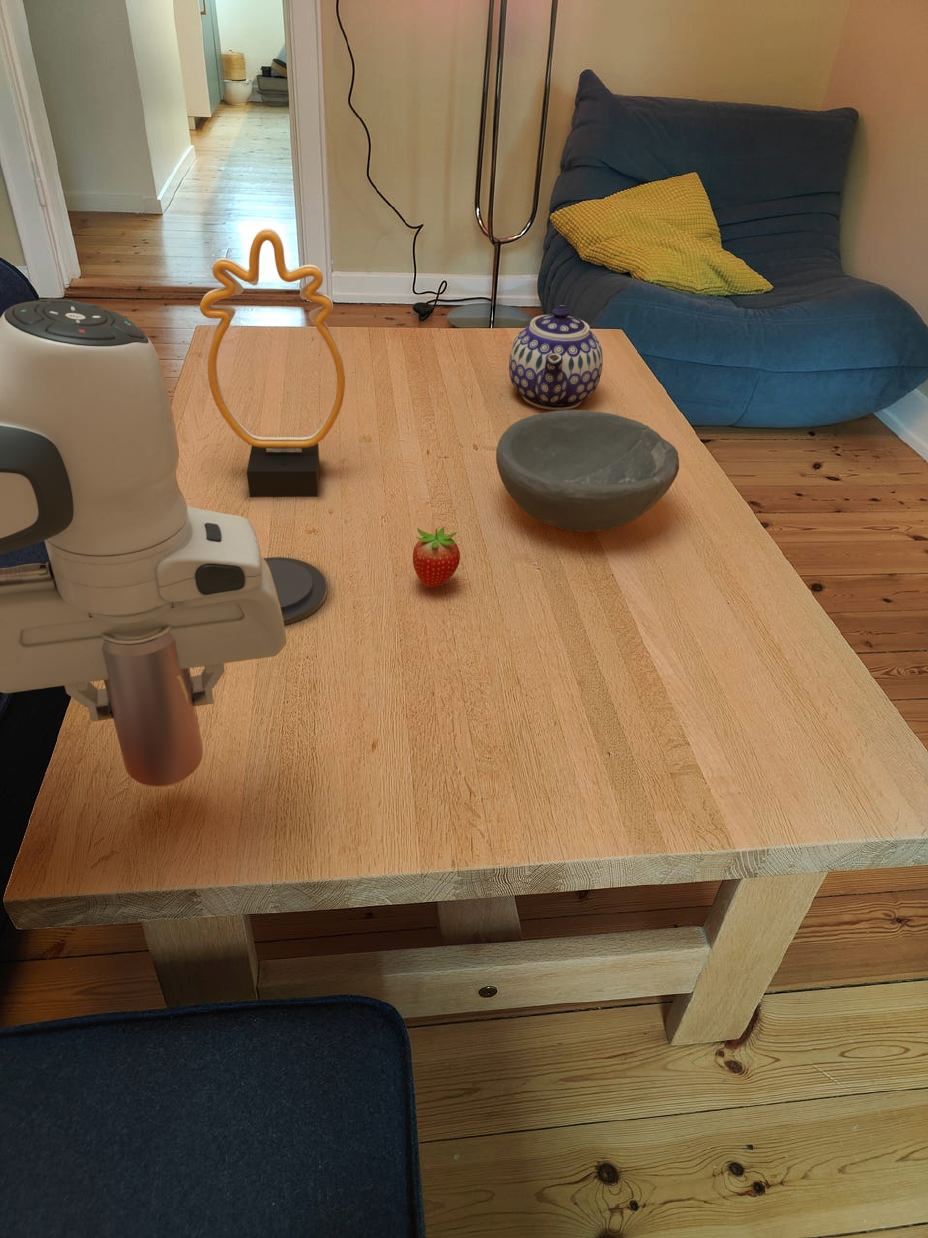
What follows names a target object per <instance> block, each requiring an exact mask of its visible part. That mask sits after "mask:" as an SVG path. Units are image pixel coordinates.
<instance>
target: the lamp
mask: <svg viewBox="0 0 928 1238" xmlns="http://www.w3.org/2000/svg"><path fill="white" fill-rule="evenodd" d="M266 241H268V242H270V243H271V245H272V248H273V254H274V261H275V268H276V271H277V274H278V277H279V278H280V279H281V280H282V281H283V282H285V283H294V282H298V281H300V280H302V279H304V278H308V277H313V279H312V280H310V281H309V282H307V284H305V285H304V286H303V287H302V288H301V289H300V291H299V297H300V298H301V299H302V300H304V301H305V300H306V301H309V302H312V303H314V304H319V305H320V306H318V307H317V308H315V309H312V310H310V311H309V313H308V318H309V320H311V322H312V323H313V325H315V328H316V329H317V331H318V332H319V334H320V335H321V337H322V338H323V340H324V342H325V344H326V345H327V347H328V349H329V351H330V354H331V357H332V359H333V363H334V366H335V371H336V372H335V373H336V392H335V397H334V400H333V403H332V405H331V408H330V410H329V412H328V414H327V416H326V418H325V420H324V421H323V423H322V424H321V426H320V427H319V428H318V429H317V430H316V431H315V433H313V434H311V435H309V436H258V435H255V434H252V432H250V431H249V430H248V429H247V428H246V427H245V426H243V424H242V423H241V422H240V421H239V419H238V418H237V416H236V415H235V414H234V412H233V411H232V409H231V408H230V406H229V404H228V403H227V401H226V399H225V396H224V394H223V391H222V388H221V385H220V381H219V376H218V366H217V365H218V354H219V349H220V346H221V343H222V340H223V338H224V336H225V335H226V333H227V331H228V329H229V327H230V325H231V322H232V321H233V320H234V317H235V315H236V312H237V311H236V308H234V307H231V306H227V305H214V304H215V303H216V302H218V301H220V300H224V299H228V298H231V297H233V296H237V295H241V294H242V293H243V292H244V289H245V288H244V287H243V285H242V284H241V283H240V282H239V281H238V280H237V279H239V280H241V281H243V282H246V283H249V285H251V286H258V284H259V279H260V255H261V249H262V246H263V244H264V243H265V242H266ZM249 249H250V250H249V258H248V268H245V267H244V266H242V265H241V264H239V263H238V262H236V261H235V260H233V259H230V258H227V257H220V258H217V260H215V262H214V264H213V265H212V275H213V277H214V279H216V281H217V282H219V283H220V284H222V285H223V287H217V288H215V289H212V290H210V291H207V293H205V294H204V296H203V297H202V299H201V301H200V303H199V310H200V312H201V314H202V315H203V316H204V317H205V318H207V319H220V321H219V322H218V324H217V326H216V328H215V330H214V333H213V335H212V340H211V343H210V348H209V352H208V356H207V357H208V359H207V378H208V384H209V388H210V392H211V395H212V398H213V401H214V403H215V405H216V407H217V409H218V410H219V413H220V415H221V416H222V418H223V419H224V420H225V423H226V424H227V425H228V426H229V427H230V429H231V430H232V431H233V432H234V434H235V435H236V436H238V438H240V439H241V440H242V441H243V442H244V443H246V444H247V445H249V446H251V448H250V452H249V458H248V463H247V467H246V476H247V484H248V485H247V486H248V493H249V497H251V498H252V497H253V498H255V497H257V498H258V497H259V498H260V497H262V498H263V497H266V498H267V497H268V498H269V497H318V495H319V494H318V493H319V478H320V464H321V463H320V448H319V443H320V442H321V441H322V440H324V439H325V437H326V436H327V435H328V434H329V432H330V431H331V429H332V428H333V426H334V424H335V423H336V420H337V418H338V416H339V414H340V411H341V408H342V405H343V403H344V397H345V389H346V373H345V366H344V365H345V364H344V360H343V356H342V353H341V350H340V348H339V345H338V343H337V340H336V339H335V336H334V334H333V333H332V331H331V329H330V328H329V326H328V324H327V323H326V322H325V321H326V320H327V319H328V318H329V316H330V314H331V313H332V311H333V309H334V302H333V300H332V298H331V297H330V296H329V295H328V294H326V293H323V292H320V291H318V290H319V289H320V288H321V286H322V284H323V282H324V275H323V271H322V269H320V267H318V266H317V265H314V264H303V265H300V266H299V267H296V268H294V269H288V268H287V266H286V260H285V259H286V258H285V250H284V245H283V241H282V239H281V236H280V235H279V234H278V232H276V230H275V229H273V228H263V229H261V230H259V231H258V232H256V234H255V236H254V238H253V240H252V243H251V246H250V248H249ZM231 274H232V275H233V276H232V275H231ZM235 277H237V279H236V278H235Z"/></svg>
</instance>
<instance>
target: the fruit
mask: <svg viewBox="0 0 928 1238" xmlns="http://www.w3.org/2000/svg"><path fill="white" fill-rule="evenodd" d="M417 532H418V534H419V535H420V536H421V537H418V536H415V537H416V539H418V541H417V542H416V544H415V545H414V547H413V551H412V565H413V569H414V571H415V573H416V576H417V578H418V579H419V580H420V582H421V583H422V584H423V585H424V586H426V587H427V588H431V589H433V588H435V589H436V588H438V587H440V586H442V585H444V584H445V583H446V582H448V580H450V579H451V578H452V576H453V575H454V574H455V573H456V571H457V569H458V567H459V565H460V561H461V552H460V549H459V546H458V544H457V543H456V542H455V540H454V539H453V537H455V535H456V534H457V533H458V532H453V533H452V534H448V535H447V534H445V526H443V527H441V528H440V529H439V530H438V527H437V528H435V532H432V533H428V532H426V531H423V530H421V529H420V528H419V527H417Z"/></svg>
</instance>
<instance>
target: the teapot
mask: <svg viewBox="0 0 928 1238" xmlns="http://www.w3.org/2000/svg"><path fill="white" fill-rule="evenodd" d="M551 313H552V314H541V315H537V316H535V317H533V318H531V320H530V322H529V324H528V325H527V326H526V327H524V328H523V329H522V330H520V331H519V332H518V333H517V335H516V336H515V337H514V339H513V342H512V344H511V347H510V352H509V359H508V373H509V379H510V382H511V384H512V386H513V388H514V389H515V391H516V392H517V393H518V394H519V395H521V396H522V399H523V400H524V401H525V402H526V403H527V404H529V405H531V406H533V407H536V408H540V409H543V410H552V411H563V410H572V409H575V408H577V407H578V406H580V405H581V404H582V402H584V401H585V400H587V399H588V398H589V397H590V396H592V395H593V394H594V393H595V391H596V389H597V388H598V385H599V382H600V380H601V376H602V372H603V363H604V359H603V358H604V356H603V354H604V353H603V349H602V345H601V343H600V341H599V339H598V337H597V336H596V335H595V334H594V333H593V331H591V329H590V325H589V323H587V322H585V321H584V320H582V319H580V318H577V317H575V316H572V315H570V310H569V307H568V306H567V305H564V304H560V305H558V306H557V307H555V308H553V309H552V310H551Z"/></svg>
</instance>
